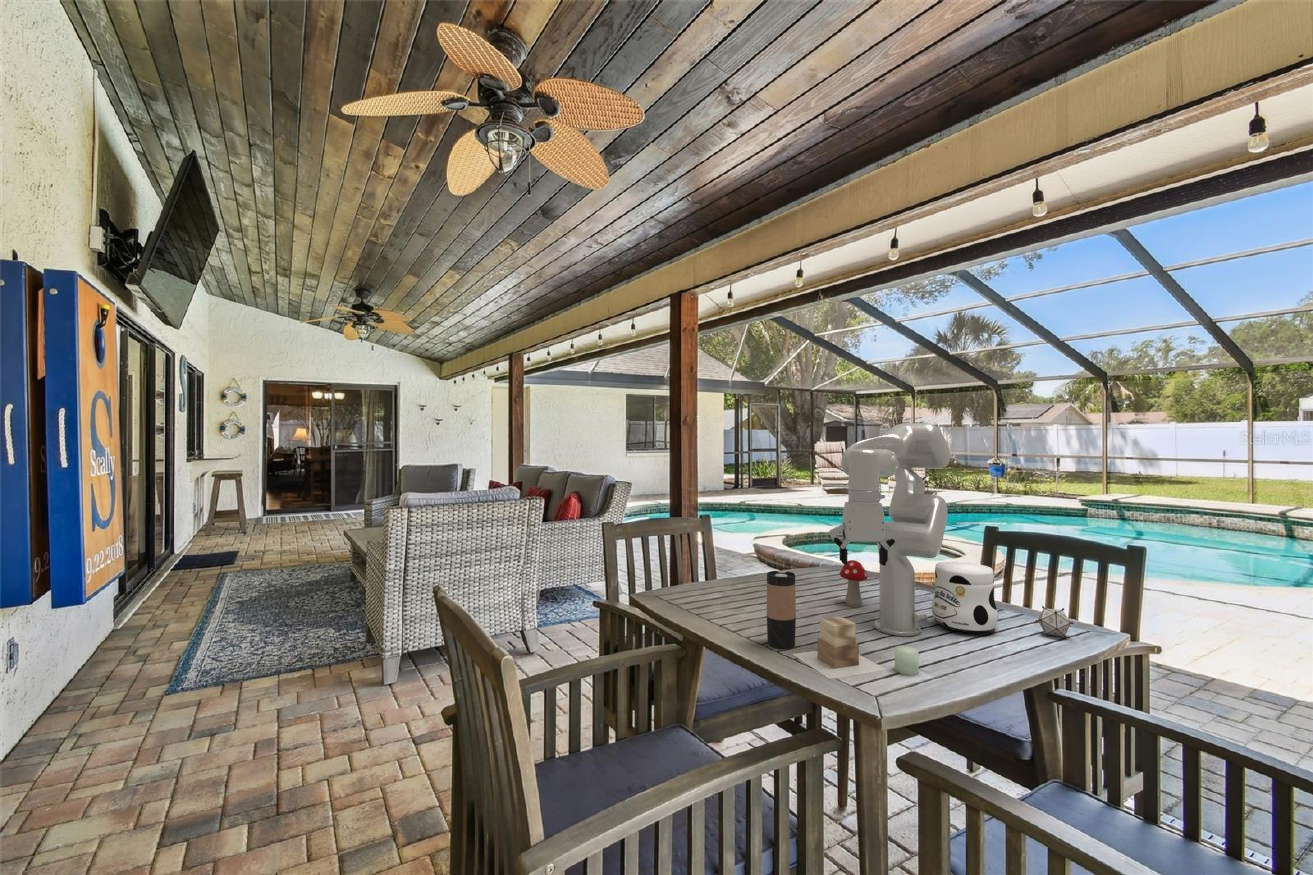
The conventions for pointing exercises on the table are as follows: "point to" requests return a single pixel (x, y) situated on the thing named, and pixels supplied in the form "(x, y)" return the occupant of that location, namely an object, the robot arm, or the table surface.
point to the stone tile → (832, 673)
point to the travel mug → (781, 610)
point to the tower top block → (838, 631)
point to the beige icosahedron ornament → (1054, 622)
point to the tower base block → (838, 654)
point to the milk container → (964, 597)
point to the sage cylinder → (906, 660)
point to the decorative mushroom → (853, 582)
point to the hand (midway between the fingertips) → (863, 564)
